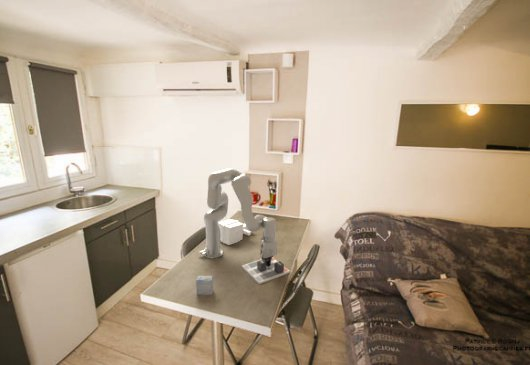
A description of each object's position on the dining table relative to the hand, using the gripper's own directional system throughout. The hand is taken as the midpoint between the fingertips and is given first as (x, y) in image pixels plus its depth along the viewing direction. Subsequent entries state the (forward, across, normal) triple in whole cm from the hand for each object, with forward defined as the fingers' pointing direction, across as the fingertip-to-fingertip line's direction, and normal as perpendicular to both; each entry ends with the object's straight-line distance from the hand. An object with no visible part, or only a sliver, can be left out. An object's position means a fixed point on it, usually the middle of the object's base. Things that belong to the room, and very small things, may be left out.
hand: (267, 265), depth 154 cm
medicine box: (+3, -41, -1) cm, 41 cm away
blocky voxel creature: (+3, +3, +49) cm, 49 cm away
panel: (+3, -2, 0) cm, 3 cm away
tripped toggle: (+1, -5, 0) cm, 5 cm away
